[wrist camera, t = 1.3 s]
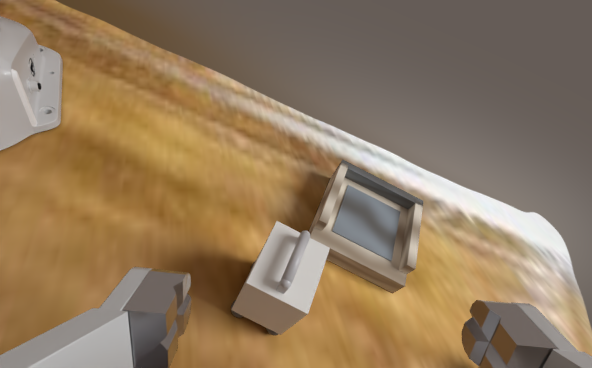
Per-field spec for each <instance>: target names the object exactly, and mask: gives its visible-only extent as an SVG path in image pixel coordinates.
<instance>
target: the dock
mask: <svg viewBox="0 0 592 368" xmlns="http://www.w3.org/2000/svg"><path fill="white" fill-rule="evenodd" d="M422 208H423V201H422V200H420V199H418V198H417V197H415V196H413V195H411V194H409V193H407V192H405V191H403V190H401V189H399V188H397V187H395V186H393V185H391V184H389V183H387V182H385V181H383V180H381V179H380V178H378V177H376V176H374V175H372V174H370V173H368V172H366V171H364V170H362V169H360V168H358V167H356V166H354V165H352V164H350V163H348V162H346V161H344V160H342V161H341V163H340V164H339V166H338V167H337V169H336V170H335V172H334V173H333V175H332V176H331V178H330V180H329V183H328V185H327V188H326V190H325V193H324V195H323V198H322V200H321V202H320V205H319V207H318V210H317V212H316V215H315V217H314V220H313V222H312V225H311V227H310V230H309V233H310V238H311V239H313V240H315V241H317V242H319V243H321V244H323V245H325V246H327V247H329V248H330V250H329V253H328V256H327V259H326V260H328V261H330V262H332V263H334V264H336V265H338V266H340V267H342V268H344V269H346V270H348V271H350V272H352V273H354V274H356V275H358V276H360V277H362V278H364V279H366V280H368V281H370V282H372V283H374V284H376V285H377V286H379V287H381V288H383V289H385V290H387V291H389V292H391V293H394V292H396V291H398V290H399V289H401V288H403V287H405V282H406V275H407V274H408V273H410V272H411V271H413V270H415V268H416V259H417V251H418V242H419V234H420V225H421V217H422Z"/></svg>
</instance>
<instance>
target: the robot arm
mask: <svg viewBox="0 0 592 368" xmlns="http://www.w3.org/2000/svg"><path fill="white" fill-rule="evenodd" d="M61 95H62V58H61V56H60V54H58V53H57V52H55V51H53V50H51V49H49V48H47V47H44V46H41V45H38V44H37V42H36V40H35V37H34V35H33V33H32V32H31V31H30V30H29V29H28V28H27V27H25V26H23V25H22V24H20V23H18V22H15V21H13V20H10V19H7V18H4V17H1V16H0V150H2V149H5V148H8V147H10V146H12V145H14V144H16V143H18V142H20V141H21V140H23V139H25V138H26V137H28V136H30V135H32V134H34V133H38V132H42V131H46V130H49V129H52V128H55V127H57V126H58V125H59V124H60V122H61ZM49 113H50V114H49ZM190 286H191V276H190V274H189V273H187V272H178V271H169V270H161V269H151V268H141V267H134V268H132V269H130V270H129V271H128V273H127V274H126V275H125V276H124V278H123V279H122V280H121V281H120V283H119V284H118V285H117V286H116V288H115V289H114V290H113V291H112V293H111V294H110V295H109V296H108V298H107V299H106V300H105V301H104V303H103V304H102V305H101V306H100V308H99V309H95V308H92V309H90V310H88V311H86V312H84V313H82V314H80V315H78V316H77V317H75V318H73V319H71V320H69V321H67V322H65V323H63V324H61V325H59V326H57V327H55V328H53V329H51V330H49V331H47V332H45V333H43V334H41V335H39V336H37V337H35V338H33V339H31V340H29V341H27V342H25V343H23V344H22V345H20V346H18V347H16V348H14V349H12V350H10V351H8V352H6V353H4V354H2V355H0V368H170V366H171V363H172V361H173V358H174V356H175V354H176V351H177V349H178V337H180V336H181V335H182V334H184V332H185V329H186V327H187V324H188V320H189V316H190V310H191V297H190V296H189V295H188V293H187V292H188V290H189V288H190ZM470 313H471V315H472V318H471V319H469V320H468V321H467V322H465V324H464V326H463V329H462V344H463V347H464V350H465V352H466V354H467V355H468V357H469V359H471V360H472V361H473V362H474V363H476V364H477V365H478V366H479V367H478V368H592V356H590V355H588V354H587V353H585V352H579V351H577V350H576V348H575V347H574V346H573V345H572V344H571V343H570V342H569V341H568V340H567V339H566V338H565V337H564V336H563V335H562V334H561V333H560V332H559V331H558V330H557V329H556V328H555V327H554V326H553V325H552V324H551V323H550V322H549V321H548V320H547V319H546V317H545V316H544V315H543V314H542V313H541V312H540V311H539V310H538V309H537V308H536V307H534V306H532V305H530V304H524V303H504V302H493V301H482V300H476V301H475V302H474V303H473V304H472V306H471V309H470Z"/></svg>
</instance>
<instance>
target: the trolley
mask: <svg viewBox="0 0 592 368" xmlns="http://www.w3.org/2000/svg"><path fill="white" fill-rule="evenodd" d="M329 250H330V248H329V247H327V246H325V245H323V244H321V243H319V242H317V241H315V240H313V239H311V238H310V233H309V232H308V231H306V230H305V231H302V232H301V233H300V232H298V231H296V230H294V229H292V228H290V227H288V226H286V225H284V224H282V223H280V222H278V221H277V222H276V224H275V225H274V227H273V229H272V231H271V233H270V235H269V237H268V239H267V240H266V242H265V244H264V246H263V248H262V250H261V252H260V254H259V255H258V257H257V259H256V261H255V262H253V264H252V266H251V271H250V273H249V275H248V277H247V279H246V281H245V283H244V285H243V287H242V289H241V291H240V293H239V295H238V297H237V299H236V300H235V301H234V302H233V303H232V305H231V312H232V314H233V315H234V316H235V317H238V318H241V317H246V318H248V319H250V320H252V321H254V322H256V323H258V324H260V325H262V326H264V327H266V329H267V331H268V333H269V334H271V335H278V334H280V335H281V334H282V333H284V332H285V331H286V330H288V329H289V328H290V327H292V326H293V325H294V324H296V323H297V322H298V321H299V320H301V319H302V318H303V317H305V316H306V315H307V314H308V312H309V309H310V306H311V303H312V300H313V297H314V294H315V291H316V288H317V285H318V282H319V279H320V276H321V274H322V271H323V268H324V265H325V262H326V259H327V256H328V253H329Z"/></svg>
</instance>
